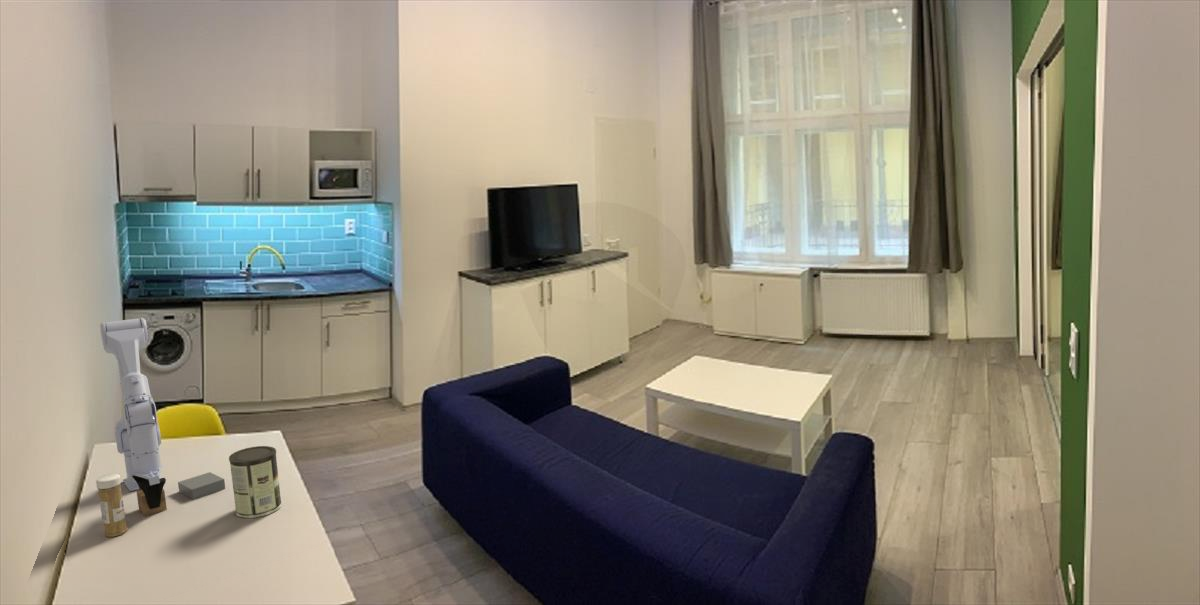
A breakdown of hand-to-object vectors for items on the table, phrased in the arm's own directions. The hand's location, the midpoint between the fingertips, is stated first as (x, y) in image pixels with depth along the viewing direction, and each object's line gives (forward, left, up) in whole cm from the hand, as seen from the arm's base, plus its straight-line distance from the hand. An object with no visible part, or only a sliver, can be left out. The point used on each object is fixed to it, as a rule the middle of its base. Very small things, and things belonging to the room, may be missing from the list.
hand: (152, 504), depth 185 cm
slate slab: (-4, +12, -2) cm, 13 cm away
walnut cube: (0, 0, -1) cm, 1 cm away
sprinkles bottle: (+8, -9, -2) cm, 12 cm away
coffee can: (+18, +19, -2) cm, 26 cm away
